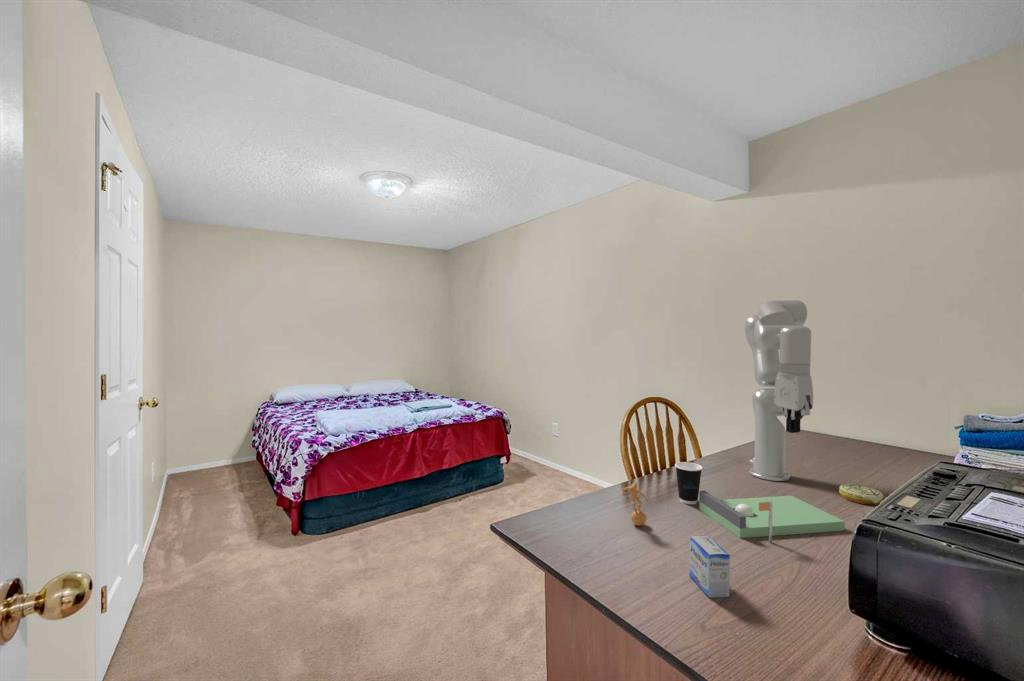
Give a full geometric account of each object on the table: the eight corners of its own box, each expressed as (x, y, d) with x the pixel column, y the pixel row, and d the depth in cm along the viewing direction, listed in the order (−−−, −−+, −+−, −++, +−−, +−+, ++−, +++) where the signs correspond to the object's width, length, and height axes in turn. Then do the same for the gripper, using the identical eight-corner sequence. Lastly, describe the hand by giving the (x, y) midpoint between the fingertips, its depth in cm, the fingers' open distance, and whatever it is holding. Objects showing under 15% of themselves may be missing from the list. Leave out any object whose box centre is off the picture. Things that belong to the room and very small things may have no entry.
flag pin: (757, 542, 107) (758, 502, 107) (770, 541, 107) (770, 501, 107) (759, 543, 106) (760, 503, 106) (772, 542, 107) (773, 502, 106)
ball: (745, 512, 122) (732, 518, 120) (742, 498, 121) (729, 504, 120) (758, 520, 117) (745, 527, 116) (755, 505, 116) (742, 512, 115)
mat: (699, 509, 127) (699, 490, 127) (791, 503, 131) (791, 485, 131) (739, 538, 109) (740, 516, 109) (844, 530, 113) (845, 510, 113)
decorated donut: (885, 509, 127) (885, 496, 127) (839, 501, 133) (839, 489, 133) (881, 498, 135) (881, 486, 135) (838, 491, 142) (838, 479, 142)
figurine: (656, 528, 115) (656, 483, 114) (644, 535, 111) (644, 488, 110) (629, 518, 121) (629, 475, 121) (616, 524, 117) (617, 480, 117)
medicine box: (688, 576, 92) (688, 535, 92) (708, 575, 93) (708, 534, 92) (708, 598, 84) (708, 554, 84) (730, 597, 85) (730, 553, 84)
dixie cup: (689, 495, 138) (689, 460, 138) (708, 504, 130) (708, 468, 130) (669, 498, 135) (669, 463, 135) (687, 508, 128) (687, 471, 127)
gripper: (764, 366, 132) (763, 426, 133) (803, 373, 117) (801, 439, 118) (787, 366, 133) (785, 425, 134) (828, 372, 118) (826, 438, 119)
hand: (793, 431), depth 126 cm, fingers closed
